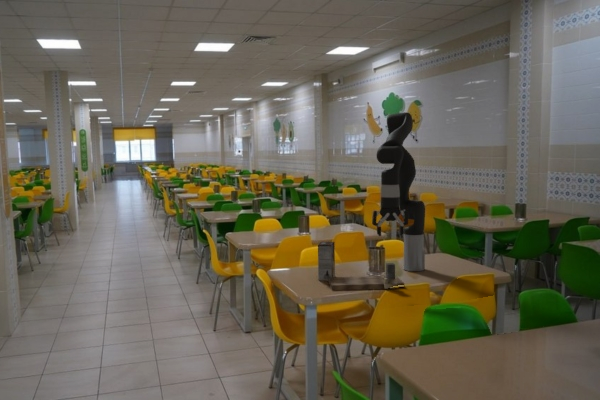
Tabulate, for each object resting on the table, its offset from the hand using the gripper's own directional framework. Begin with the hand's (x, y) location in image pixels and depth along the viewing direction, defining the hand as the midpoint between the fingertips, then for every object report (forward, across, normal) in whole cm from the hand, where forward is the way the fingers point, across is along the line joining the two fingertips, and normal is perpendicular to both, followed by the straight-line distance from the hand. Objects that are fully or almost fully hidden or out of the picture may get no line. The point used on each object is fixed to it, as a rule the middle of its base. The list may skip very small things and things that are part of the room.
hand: (390, 235), depth 213 cm
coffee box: (+22, +24, -22) cm, 39 cm away
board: (+22, +9, -8) cm, 25 cm away
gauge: (+22, 0, -5) cm, 22 cm away
